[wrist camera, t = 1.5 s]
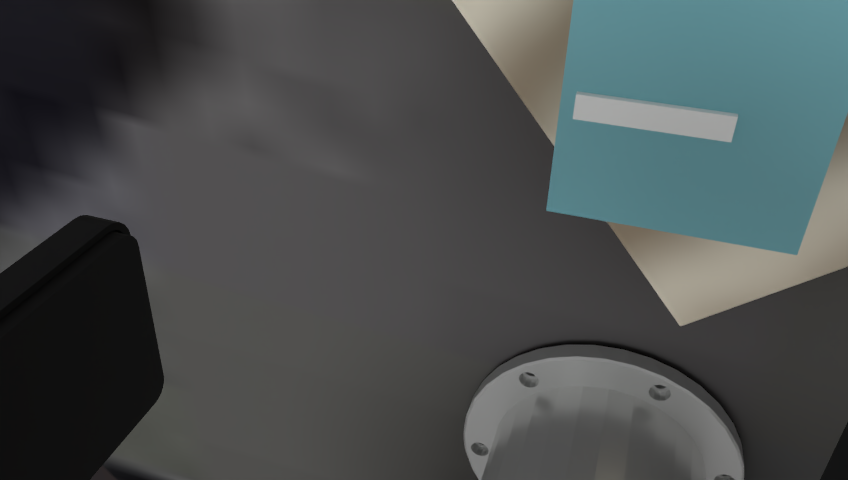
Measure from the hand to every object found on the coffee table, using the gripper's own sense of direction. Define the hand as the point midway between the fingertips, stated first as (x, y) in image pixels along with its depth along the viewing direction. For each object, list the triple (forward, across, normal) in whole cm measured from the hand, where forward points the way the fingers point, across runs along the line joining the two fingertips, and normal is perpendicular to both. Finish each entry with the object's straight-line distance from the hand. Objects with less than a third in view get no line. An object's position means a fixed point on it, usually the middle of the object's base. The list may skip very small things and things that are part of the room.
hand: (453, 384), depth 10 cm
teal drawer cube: (+17, -3, +1) cm, 17 cm away
